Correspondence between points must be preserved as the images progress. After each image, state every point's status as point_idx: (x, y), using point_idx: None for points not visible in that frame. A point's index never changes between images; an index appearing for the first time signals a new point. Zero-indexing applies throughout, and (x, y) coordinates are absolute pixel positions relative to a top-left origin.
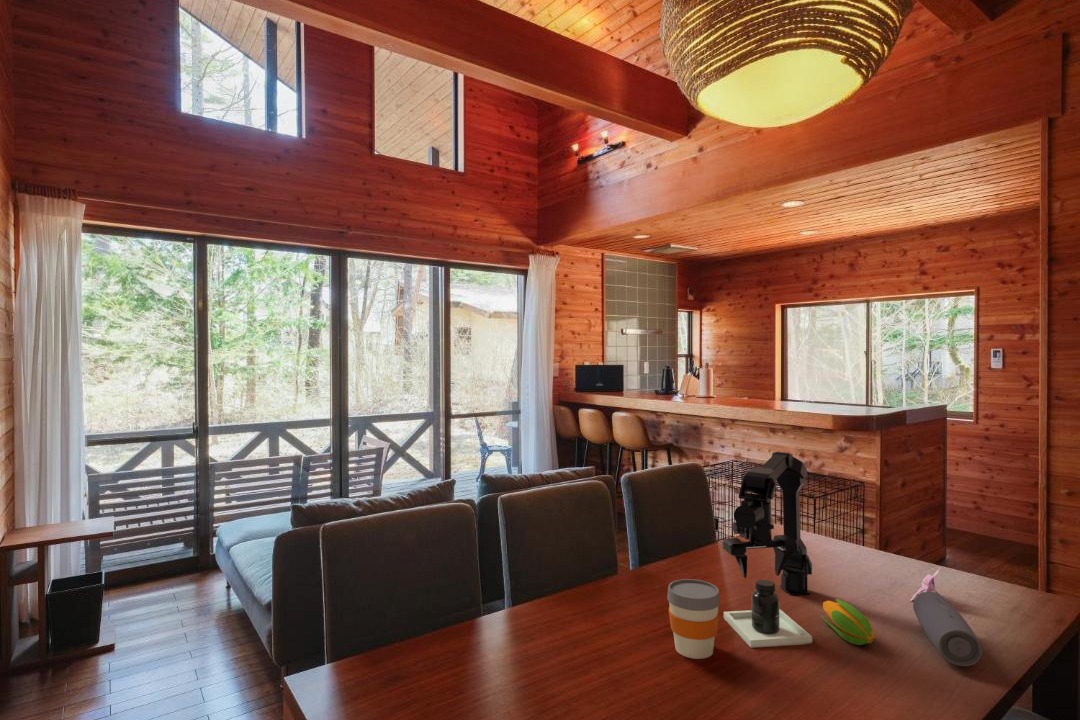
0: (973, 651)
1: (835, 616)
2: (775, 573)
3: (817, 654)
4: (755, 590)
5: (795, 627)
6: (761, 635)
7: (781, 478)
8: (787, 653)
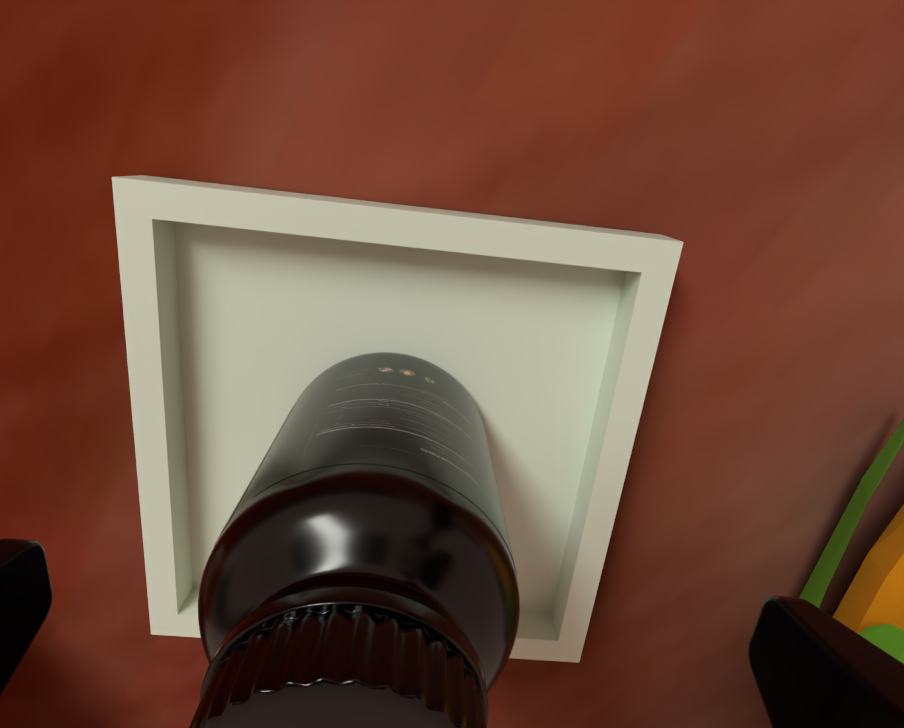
0: None
1: None
2: (776, 614)
3: (512, 710)
4: (267, 565)
5: (580, 520)
6: None
7: None
8: None
